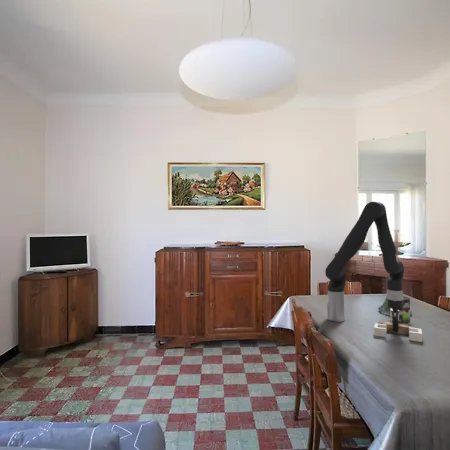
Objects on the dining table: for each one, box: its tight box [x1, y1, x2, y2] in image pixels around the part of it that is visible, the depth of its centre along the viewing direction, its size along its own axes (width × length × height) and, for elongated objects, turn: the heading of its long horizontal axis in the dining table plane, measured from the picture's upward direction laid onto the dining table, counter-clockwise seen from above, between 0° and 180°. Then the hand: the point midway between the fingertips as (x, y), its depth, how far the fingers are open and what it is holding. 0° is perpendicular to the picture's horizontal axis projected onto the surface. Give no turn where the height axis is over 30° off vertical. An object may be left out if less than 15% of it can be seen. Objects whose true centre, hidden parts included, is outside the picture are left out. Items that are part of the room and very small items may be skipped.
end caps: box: [373, 322, 423, 343], centre depth 159 cm, size 21×8×4 cm, turn 61°
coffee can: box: [389, 295, 411, 326], centre depth 180 cm, size 10×10×14 cm
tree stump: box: [377, 296, 413, 317], centre depth 200 cm, size 18×20×18 cm
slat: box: [377, 320, 415, 336], centre depth 166 cm, size 16×4×4 cm, turn 51°
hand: (395, 329), depth 166 cm, fingers open, 8 cm apart
